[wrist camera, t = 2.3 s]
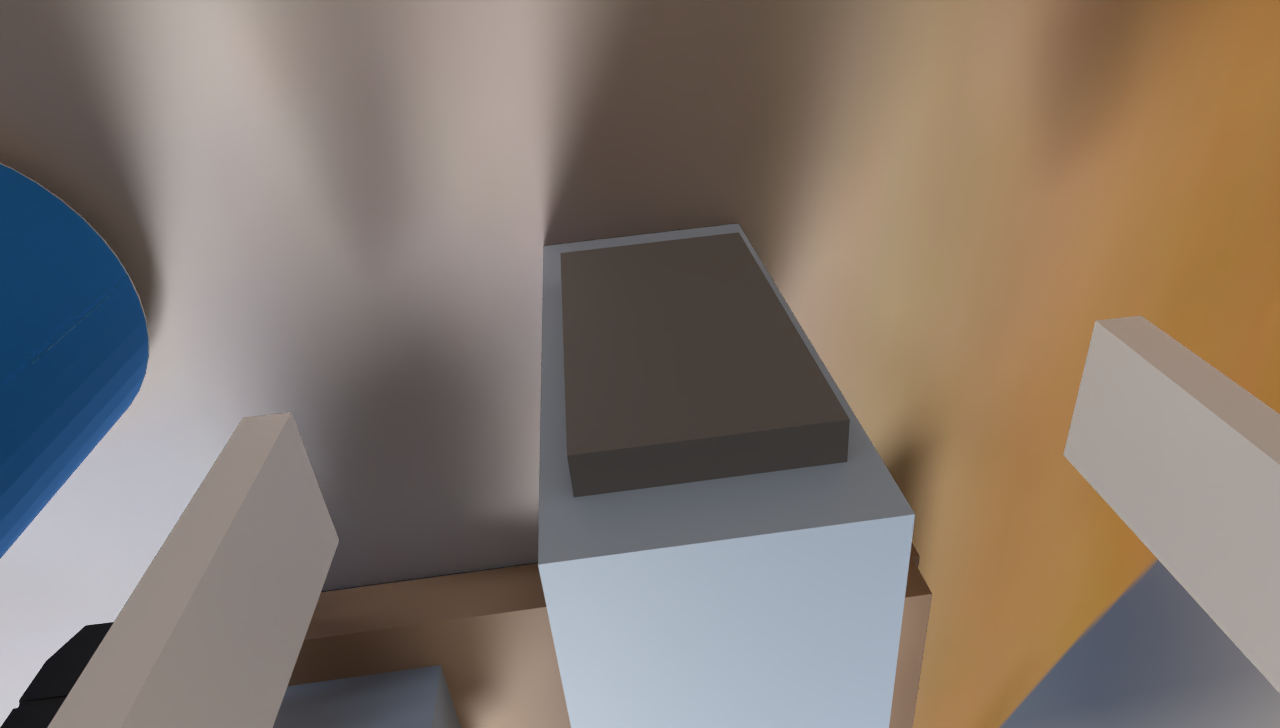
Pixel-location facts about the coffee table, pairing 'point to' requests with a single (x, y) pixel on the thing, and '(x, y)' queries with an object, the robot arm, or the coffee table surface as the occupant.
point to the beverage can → (58, 346)
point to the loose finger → (707, 498)
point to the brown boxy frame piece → (475, 655)
